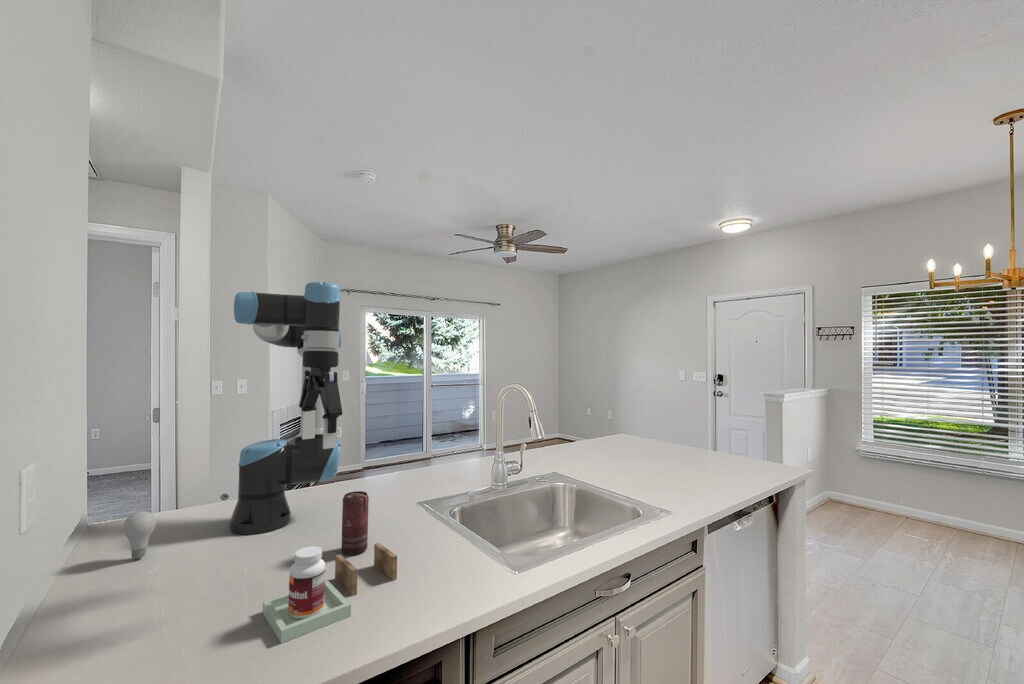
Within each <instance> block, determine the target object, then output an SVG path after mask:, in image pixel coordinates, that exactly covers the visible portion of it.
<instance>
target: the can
mask: <svg viewBox="0 0 1024 684" xmlns="http://www.w3.org/2000/svg"><path fill="white" fill-rule="evenodd" d="M369 498H370V497H369V495H368V493H367V492H366V491H359V490H358V491H350V492H348V493H345V494H344V495H343V498H342V512H341V513H342V514H341V515H342V516H341V520H342V521H341V546H340V547H341V553H342V554H343V555H346V556H350V557H351V556H358V555H362V554H363V553H365V552H366V550H367V549H368V542H369V541H368V539H369V538H368V537H369V534H368V533H369V502H370V501H369Z"/></svg>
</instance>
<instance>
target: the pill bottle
mask: <svg viewBox="0 0 1024 684" xmlns="http://www.w3.org/2000/svg"><path fill="white" fill-rule="evenodd" d="M322 557H323V549H322V548H321V547H319V546H315V545H314V546H306V547H303V548H299V549H298V550H296V551H295V552H294V563H293V564H292V565H291V567H290V569H289V580H288V581H289V582H288V593H289V602H288V613H289V615H290V616H291V617H293V618H297V619H302V618H308V617H311V616H314V615H316V614H317V613H319V612H320V611H321V610H322V608H323V606H324V591H325V580H326V563H325V561H324V559H322Z"/></svg>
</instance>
